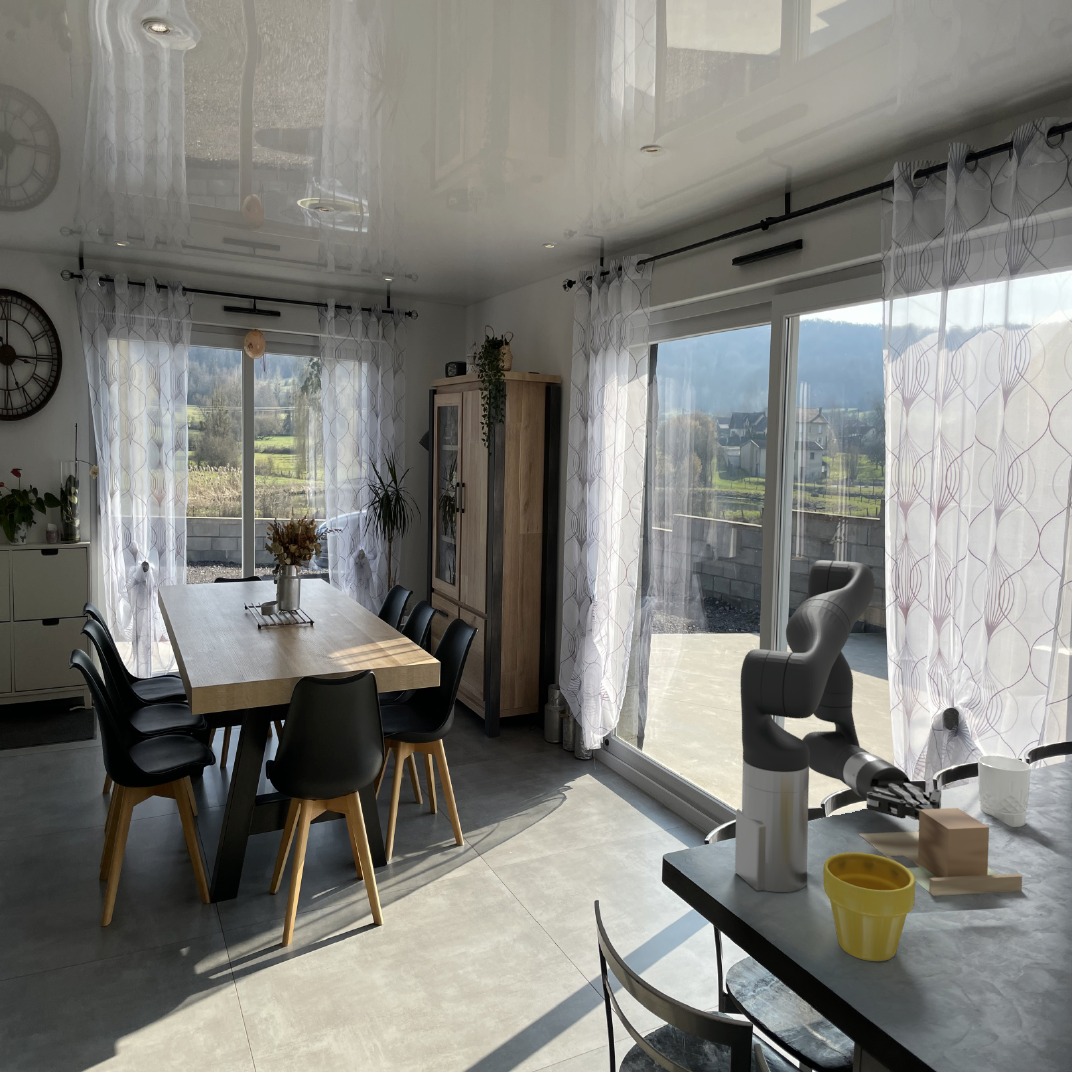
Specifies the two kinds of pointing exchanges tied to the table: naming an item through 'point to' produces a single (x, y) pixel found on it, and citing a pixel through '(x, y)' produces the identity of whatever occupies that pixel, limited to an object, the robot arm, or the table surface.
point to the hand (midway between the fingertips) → (937, 821)
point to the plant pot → (868, 902)
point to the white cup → (1004, 788)
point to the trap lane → (908, 847)
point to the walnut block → (952, 843)
